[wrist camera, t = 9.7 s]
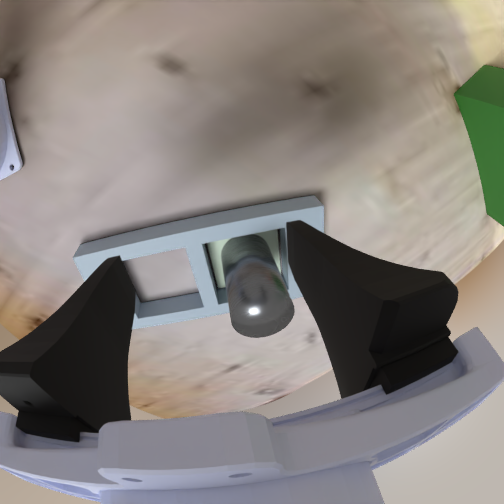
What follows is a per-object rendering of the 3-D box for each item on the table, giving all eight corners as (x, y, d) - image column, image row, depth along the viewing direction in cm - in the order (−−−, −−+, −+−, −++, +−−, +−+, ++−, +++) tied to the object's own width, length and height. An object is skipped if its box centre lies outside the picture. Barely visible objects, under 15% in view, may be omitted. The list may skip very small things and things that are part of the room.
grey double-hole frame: (118, 316, 25) (114, 331, 23) (80, 244, 20) (72, 258, 18) (314, 278, 26) (321, 292, 24) (314, 195, 21) (323, 205, 20)
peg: (222, 277, 24) (233, 341, 18) (219, 235, 22) (229, 297, 16) (269, 271, 24) (291, 332, 19) (270, 230, 22) (297, 288, 16)
